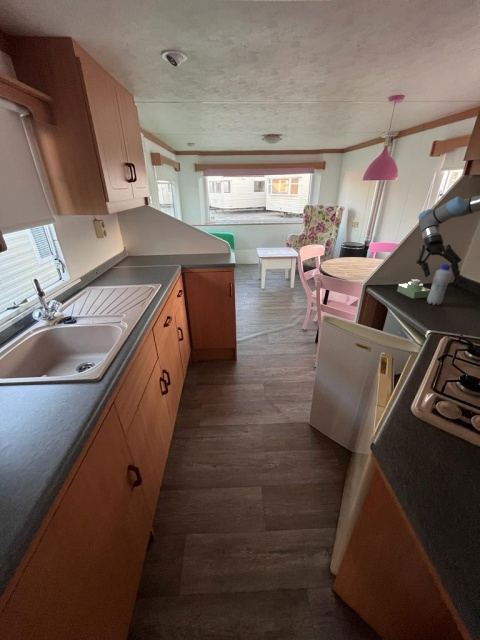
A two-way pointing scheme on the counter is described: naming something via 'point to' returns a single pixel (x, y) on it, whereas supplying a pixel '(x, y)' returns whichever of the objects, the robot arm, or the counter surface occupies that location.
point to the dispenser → (413, 290)
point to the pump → (416, 282)
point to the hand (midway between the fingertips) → (442, 275)
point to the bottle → (439, 285)
